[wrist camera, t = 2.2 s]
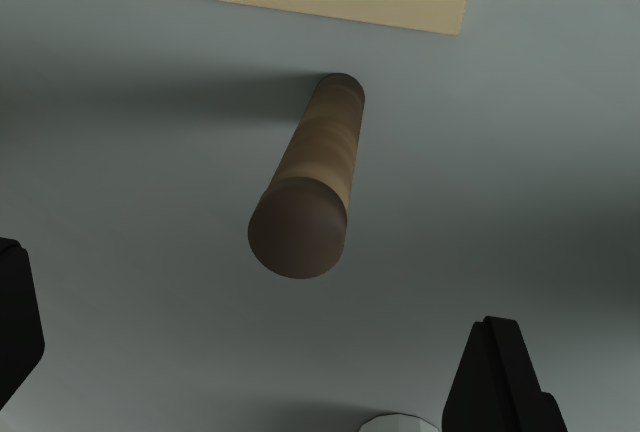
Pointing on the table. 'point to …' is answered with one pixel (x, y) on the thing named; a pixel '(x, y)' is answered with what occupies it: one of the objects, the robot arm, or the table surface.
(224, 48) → the table surface
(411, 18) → the shape sorter toy
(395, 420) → the white cup
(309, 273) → the brown wooden rod
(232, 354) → the table surface
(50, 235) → the table surface
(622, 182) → the table surface
